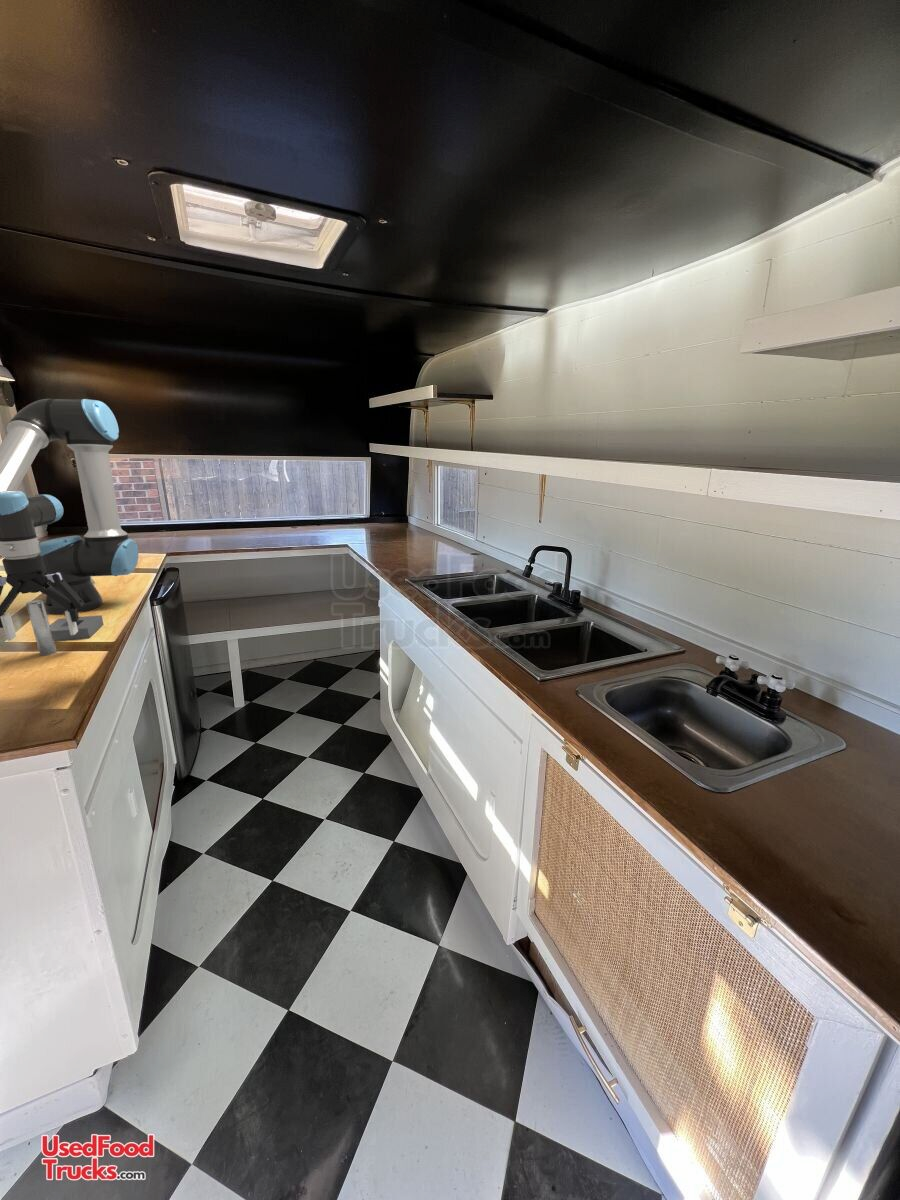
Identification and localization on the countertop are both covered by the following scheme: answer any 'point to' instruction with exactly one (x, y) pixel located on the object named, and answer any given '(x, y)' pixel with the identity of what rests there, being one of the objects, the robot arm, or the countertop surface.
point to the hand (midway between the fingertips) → (43, 636)
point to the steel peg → (41, 627)
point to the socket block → (84, 625)
